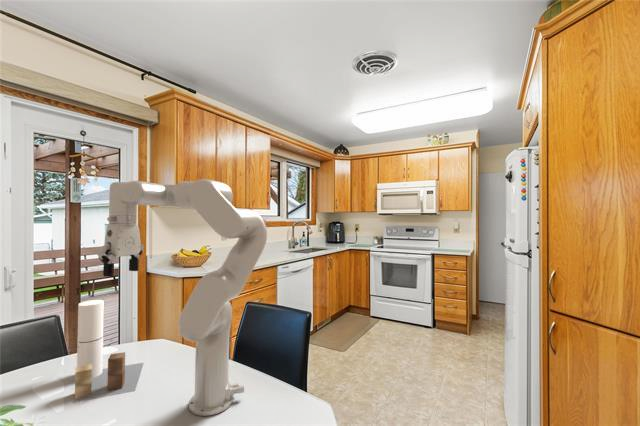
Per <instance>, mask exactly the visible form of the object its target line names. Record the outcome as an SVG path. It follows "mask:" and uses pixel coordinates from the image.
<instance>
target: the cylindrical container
mask: <svg viewBox="0 0 640 426" xmlns="http://www.w3.org/2000/svg"><path fill="white" fill-rule="evenodd" d="M104 304H105V301H104V300H103V299H93V300H92V299H91V300H90V299H89V300H86V301H82V302H79V303H78V306H77V308H78V309H77V344H76V345H77V349H76V351H77V352H76V354H77V355H76V367H80V366H84V365H88V364H92V378H95V377H97V376H99V375H100V374H101V373H102V370H103V369H104V367H103V363H104V361H103V358H104V355H103V354H104V313H105V308H104V307H105V305H104Z"/></svg>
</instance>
